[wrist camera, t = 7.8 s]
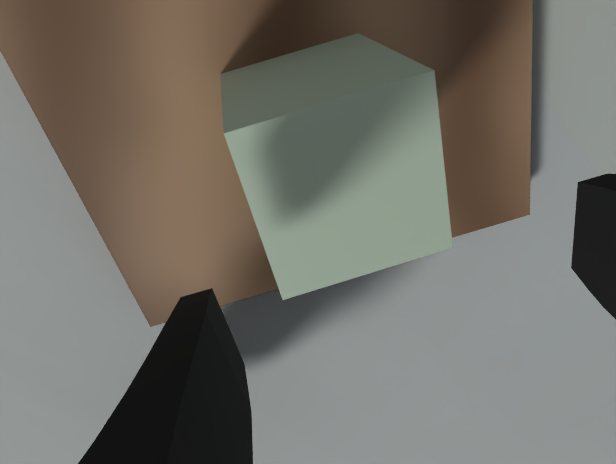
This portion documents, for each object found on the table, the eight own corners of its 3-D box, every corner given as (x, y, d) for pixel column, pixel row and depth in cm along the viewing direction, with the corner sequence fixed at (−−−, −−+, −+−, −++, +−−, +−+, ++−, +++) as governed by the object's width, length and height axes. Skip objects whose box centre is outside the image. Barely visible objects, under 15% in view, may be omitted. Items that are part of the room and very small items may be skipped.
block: (358, 33, 15) (434, 70, 10) (381, 162, 17) (452, 247, 12) (220, 73, 15) (223, 133, 10) (261, 198, 17) (282, 300, 12)
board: (506, -139, 15) (535, -149, 13) (510, 198, 21) (529, 214, 20) (-4, -1, 14) (-26, 3, 13) (154, 303, 20) (150, 326, 19)
